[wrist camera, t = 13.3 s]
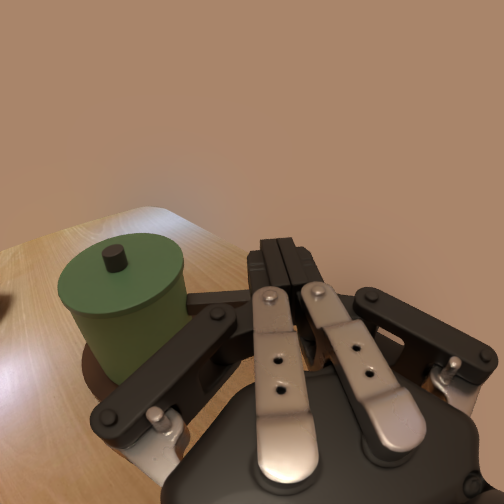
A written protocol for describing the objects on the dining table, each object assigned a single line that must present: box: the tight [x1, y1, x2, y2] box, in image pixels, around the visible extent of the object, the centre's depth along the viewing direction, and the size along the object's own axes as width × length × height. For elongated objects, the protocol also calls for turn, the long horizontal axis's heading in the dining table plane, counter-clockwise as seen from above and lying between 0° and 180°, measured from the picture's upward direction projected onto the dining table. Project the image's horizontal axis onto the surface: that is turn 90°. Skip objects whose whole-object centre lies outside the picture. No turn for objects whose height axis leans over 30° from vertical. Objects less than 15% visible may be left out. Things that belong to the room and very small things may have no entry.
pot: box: [58, 233, 251, 385], centre depth 26 cm, size 22×12×12 cm, turn 95°
